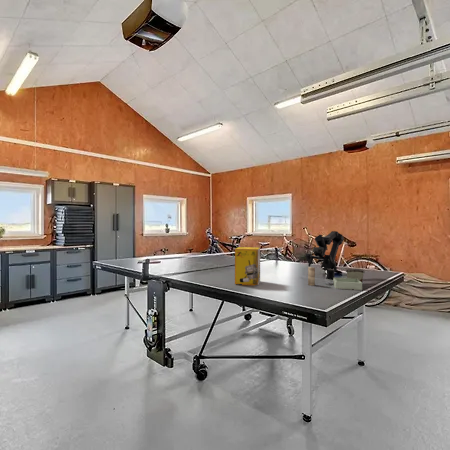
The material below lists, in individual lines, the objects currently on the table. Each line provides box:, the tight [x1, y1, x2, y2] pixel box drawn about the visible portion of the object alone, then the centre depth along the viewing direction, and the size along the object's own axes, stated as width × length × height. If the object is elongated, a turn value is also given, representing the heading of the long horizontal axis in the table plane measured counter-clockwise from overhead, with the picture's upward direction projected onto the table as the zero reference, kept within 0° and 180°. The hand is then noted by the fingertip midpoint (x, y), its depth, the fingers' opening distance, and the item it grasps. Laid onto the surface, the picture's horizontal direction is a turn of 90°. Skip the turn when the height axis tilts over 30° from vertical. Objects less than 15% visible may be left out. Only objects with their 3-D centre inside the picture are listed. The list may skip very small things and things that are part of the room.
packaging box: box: [234, 246, 261, 286], centre depth 214 cm, size 16×16×25 cm
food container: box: [345, 268, 365, 284], centre depth 213 cm, size 12×6×10 cm, turn 74°
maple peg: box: [307, 266, 316, 287], centre depth 207 cm, size 4×4×12 cm
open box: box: [332, 277, 363, 291], centre depth 201 cm, size 16×16×4 cm
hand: (315, 267), depth 211 cm, fingers open, 9 cm apart
